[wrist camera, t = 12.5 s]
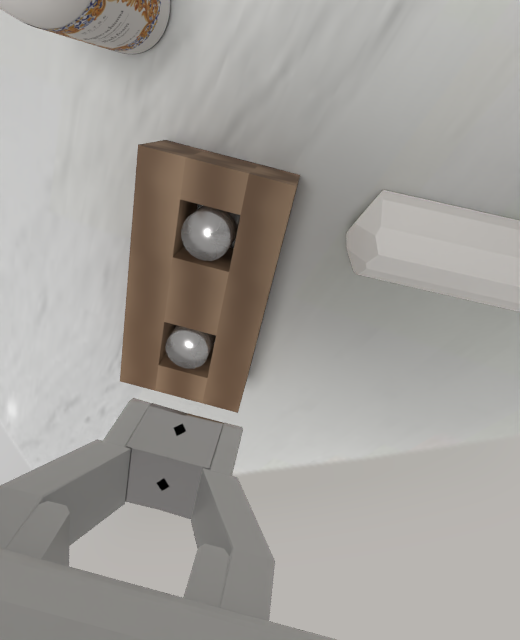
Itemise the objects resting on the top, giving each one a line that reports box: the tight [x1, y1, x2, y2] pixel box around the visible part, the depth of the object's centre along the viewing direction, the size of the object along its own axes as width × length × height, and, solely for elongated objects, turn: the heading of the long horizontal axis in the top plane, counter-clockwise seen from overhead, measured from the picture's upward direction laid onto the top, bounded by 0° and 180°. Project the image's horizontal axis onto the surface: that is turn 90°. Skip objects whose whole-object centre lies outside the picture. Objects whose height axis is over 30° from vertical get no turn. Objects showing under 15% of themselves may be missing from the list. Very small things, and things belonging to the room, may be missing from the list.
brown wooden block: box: [120, 140, 300, 413], centre depth 38 cm, size 12×22×6 cm, turn 167°
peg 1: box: [181, 205, 240, 261], centre depth 35 cm, size 4×4×6 cm
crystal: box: [346, 190, 520, 312], centre depth 35 cm, size 7×7×24 cm
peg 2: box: [166, 325, 216, 369], centre depth 40 cm, size 4×4×6 cm
